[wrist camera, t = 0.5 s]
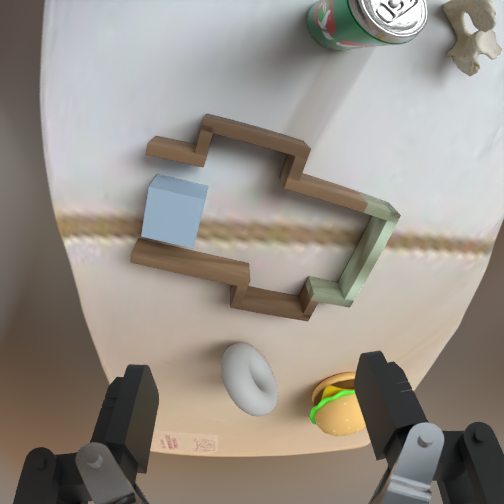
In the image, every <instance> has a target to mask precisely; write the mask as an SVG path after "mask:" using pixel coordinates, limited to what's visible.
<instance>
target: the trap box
mask: <svg viewBox="0 0 504 504" xmlns="http://www.w3.org/2000/svg"><path fill="white" fill-rule="evenodd" d="M213 133H214V134H218V135H222V136H226V137H230V138H234V139H237V140H241V141H245V142H249V143H252V144H256V145H259V146H263V147H266V148H270V149H273V150H277V151H280V152H283V153H287V154H288V155H287V158H286V160H285V163H284V166H283V169H282V172H281V174H280V179H281V182H282V184H283V187H284V189H288V190H291V191H295V192H298V193H301V194H305V195H308V196H312V197H315V198H318V199H322V200H325V201H328V202H331V203H335V204H338V205H341V206H344V207H347V208H350V209H353V210H357V211H360V212H363V213H366V214H369V215H372V217H371V219H370V221H369V223H368V225H367V227H366V229H365V231H364V233H363V235H362V237H361V239H360V241H359V243H358V245H357V247H356V249H355V251H354V253H353V255H352V257H351V259H350V261H349V263H348V264H347V266H346V268H345V270H344V272H343V274H342V276H341V278H340V280H339V281H338V283H337V282H333V281H328V280H323V279H319V278H314V277H308V279H307V281H306V283H305V285H304V287H303V289H302V291H301V293H300V295H299V296H295V295H290V294H285V293H279V292H274V291H269V290H264V289H259V288H255V287H250V286H248V285H249V282H250V270H249V263H245V262H241V261H236V260H232V259H227V258H223V257H218V256H214V255H210V254H205V253H201V252H196V251H192V250H187V249H183V248H179V247H174V246H170V245H165V244H161V243H157V242H152V241H148V240H144V239H138V241H137V243H136V245H135V247H134V249H133V251H132V253H131V262H132V263H136V264H141V265H145V266H149V267H153V268H158V269H162V270H167V271H171V272H175V273H180V274H184V275H189V276H193V277H198V278H203V279H207V280H212V281H217V282H221V283H226V284H231V285H232V286H231V289H230V307H231V308H236V309H241V310H246V311H252V312H257V313H262V314H268V315H274V316H279V317H285V318H291V319H297V320H303V321H308V320H309V319H310V317H311V315H312V313H313V311H314V310H315V308H316V306H317V304H318V302H322V303H328V304H333V305H339V306H345V307H350V306H351V305H352V303H353V301H354V300H355V298H356V296H357V295H358V293H359V291H360V290H361V288H362V286H363V284H364V283H365V281H366V279H367V277H368V276H369V274H370V272H371V270H372V269H373V267H374V265H375V263H376V261H377V260H378V258H379V256H380V254H381V252H382V250H383V249H384V247H385V245H386V243H387V241H388V239H389V237H390V235H391V233H392V232H393V230H394V228H395V226H396V224H397V222H398V220H399V218H400V216H401V215H400V214H399V213H398V212H397V211H396V210H395V209H394V208H393V207H392V206H391V205H390V204H389V203H388V202H385V201H383V200H380V199H377V198H375V197H372V196H369V195H366V194H363V193H361V192H358V191H355V190H352V189H349V188H346V187H343V186H340V185H337V184H334V183H331V182H328V181H325V180H322V179H319V178H316V177H313V176H309V175H306V174H303V173H302V172H303V169H304V167H305V164H306V161H307V159H308V156H309V153H310V150H311V148H310V147H309V146H308V145H307V144H306V143H305V142H304V141H302V140H299V139H296V138H293V137H290V136H286V135H283V134H280V133H277V132H273V131H270V130H266V129H263V128H260V127H256V126H253V125H249V124H245V123H242V122H238V121H234V120H230V119H226V118H222V117H218V116H214V115H210V114H206V116H205V117H204V119H203V123H202V127H201V130H200V134H199V138H198V142H197V145H196V144H191V143H187V142H183V141H178V140H173V139H169V138H164V137H159V136H155V137H154V138H153V139H152V140H151V141H150V142H149V143H148V145H147V150H146V155H150V156H155V157H159V158H164V159H169V160H173V161H178V162H182V163H186V164H191V165H195V166H199V167H204V164H205V161H206V157H207V154H208V150H209V146H210V143H211V139H212V135H213Z"/></svg>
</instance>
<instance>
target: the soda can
mask: <svg viewBox="0 0 504 504" xmlns="http://www.w3.org/2000/svg"><path fill="white" fill-rule="evenodd" d="M427 15H428V11H427V5H426V1H425V0H319V1H318V2H316V3H315V4H314V5H313V6H312V7H311V8H310V10H309V12H308V15H307V26H308V30H309V32H310V34H311V35H312V37H313V38H314V39H315V40H316V41H317V42H318V43H319V44H321V45H322V46H324V47H326V48H329V49H333V50H346V49H354V48H362V47H372V46H383V45H396V44H403V43H406V42H409V41H411V40H412V39H414V38H415V37H416V36H417V35H418V33H419V32H420V31H421V30H422V29H423V27H424V26H425V24H426V21H427Z"/></svg>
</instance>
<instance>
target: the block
mask: <svg viewBox="0 0 504 504" xmlns="http://www.w3.org/2000/svg"><path fill="white" fill-rule="evenodd" d="M207 190H208V186H206V185H202V184H198V183H193V182H189V181H185V180H180V179H176V178H171V177H167V176H162V175H158V174H157V175H156V177H155V178H154V180H153V181H152V183H151V184H150V186H149V189H148V195H147V201H146V207H145V214H144V220H143V227H142V235H141V237H145V238H150V239H154V240H158V241H163V242H167V243H171V244H176V245H180V246H184V247H189V248H194V244H195V240H196V235H197V231H198V227H199V223H200V219H201V215H202V211H203V207H204V203H205V199H206V195H207Z"/></svg>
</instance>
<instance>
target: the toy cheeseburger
mask: <svg viewBox="0 0 504 504" xmlns="http://www.w3.org/2000/svg"><path fill="white" fill-rule="evenodd" d="M355 374H356V373H354V372H349V373H342V374H338V375H335V376H332V377H330V378H328V379H326V380H324V381H323V382H321V383H320V384H319V385H318V386H317V387H316V388H315V390H314V392H313V394H312V402H313V404H314V407H313V408H312V409H311V411H310V416H309V417H310V420H311V422H312V423H313V424H317V426H318V427H319V428H320V429H321V430H322V431H323V432H325V433H327V434H330V435H333V436H345V435H350V434H354V433H356V432H359V431H361V430H363V429H364V428H366V425H365V422H364V418H363V415H362V412H361V409H360V406H359V403H358V400H357V397H356V395H355V390H354V378H355Z"/></svg>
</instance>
